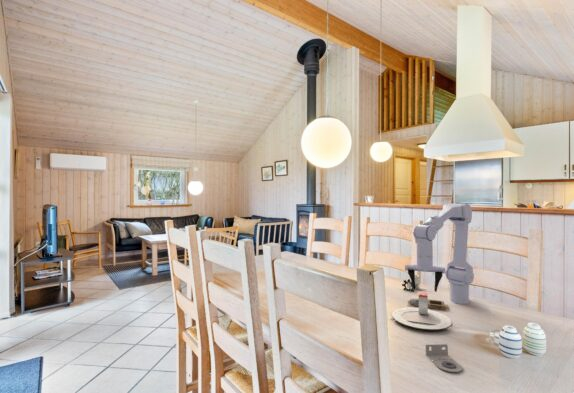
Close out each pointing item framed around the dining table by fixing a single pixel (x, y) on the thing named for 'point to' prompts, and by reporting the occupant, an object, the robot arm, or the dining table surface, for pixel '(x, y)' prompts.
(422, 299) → the pin
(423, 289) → the dining table surface
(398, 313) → the plate
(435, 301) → the board
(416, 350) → the dining table surface
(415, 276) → the valve
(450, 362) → the bracket
